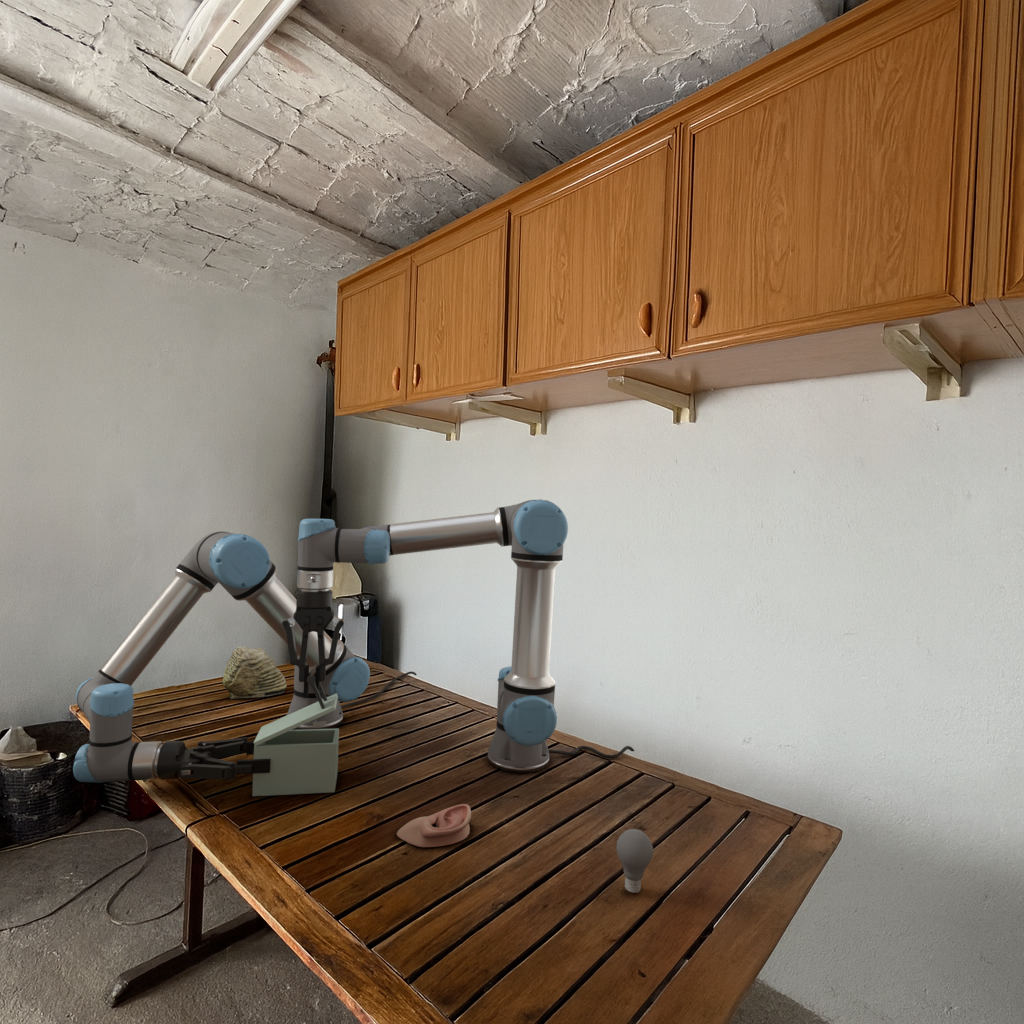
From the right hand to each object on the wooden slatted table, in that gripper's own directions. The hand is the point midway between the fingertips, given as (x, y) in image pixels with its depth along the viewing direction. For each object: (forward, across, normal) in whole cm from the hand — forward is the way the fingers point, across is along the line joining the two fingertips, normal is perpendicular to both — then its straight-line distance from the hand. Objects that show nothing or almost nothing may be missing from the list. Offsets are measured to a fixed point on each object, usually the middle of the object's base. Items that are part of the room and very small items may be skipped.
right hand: (311, 695), depth 139 cm
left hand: (+13, -8, 0) cm, 15 cm away
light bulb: (+20, +57, -46) cm, 76 cm away
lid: (+5, -3, 0) cm, 6 cm away
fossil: (+19, -23, +65) cm, 71 cm away
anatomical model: (+20, +26, -24) cm, 40 cm away
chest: (+20, -2, 0) cm, 20 cm away
